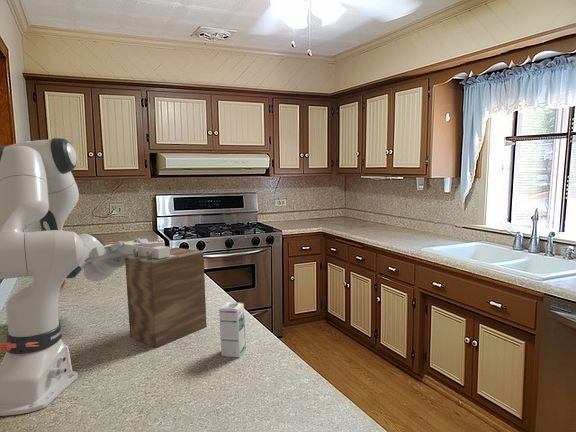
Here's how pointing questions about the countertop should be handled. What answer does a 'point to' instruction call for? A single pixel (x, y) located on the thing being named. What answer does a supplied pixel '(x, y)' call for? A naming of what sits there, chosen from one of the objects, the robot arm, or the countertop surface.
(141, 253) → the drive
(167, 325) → the wooden peg block
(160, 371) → the countertop surface
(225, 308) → the syrup box
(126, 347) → the countertop surface
